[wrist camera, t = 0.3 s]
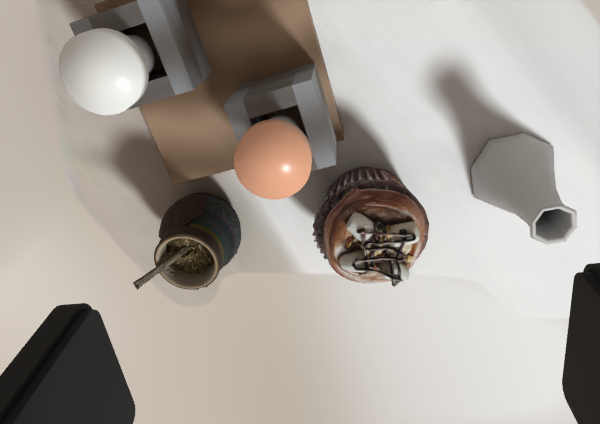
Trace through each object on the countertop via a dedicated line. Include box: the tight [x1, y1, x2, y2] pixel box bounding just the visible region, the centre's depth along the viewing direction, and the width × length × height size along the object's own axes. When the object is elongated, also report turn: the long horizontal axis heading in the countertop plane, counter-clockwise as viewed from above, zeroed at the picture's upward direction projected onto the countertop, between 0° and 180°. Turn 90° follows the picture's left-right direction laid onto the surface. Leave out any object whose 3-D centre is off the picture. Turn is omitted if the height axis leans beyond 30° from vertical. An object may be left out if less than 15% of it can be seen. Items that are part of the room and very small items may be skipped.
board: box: [70, 0, 344, 185], centre depth 39 cm, size 16×16×8 cm
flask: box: [471, 133, 577, 244], centre depth 41 cm, size 7×7×10 cm
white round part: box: [59, 28, 155, 115], centre depth 33 cm, size 5×5×6 cm
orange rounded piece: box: [234, 115, 312, 199], centre depth 34 cm, size 5×5×6 cm
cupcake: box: [313, 167, 429, 286], centre depth 43 cm, size 10×10×10 cm
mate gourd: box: [133, 193, 241, 289], centre depth 45 cm, size 7×8×10 cm
